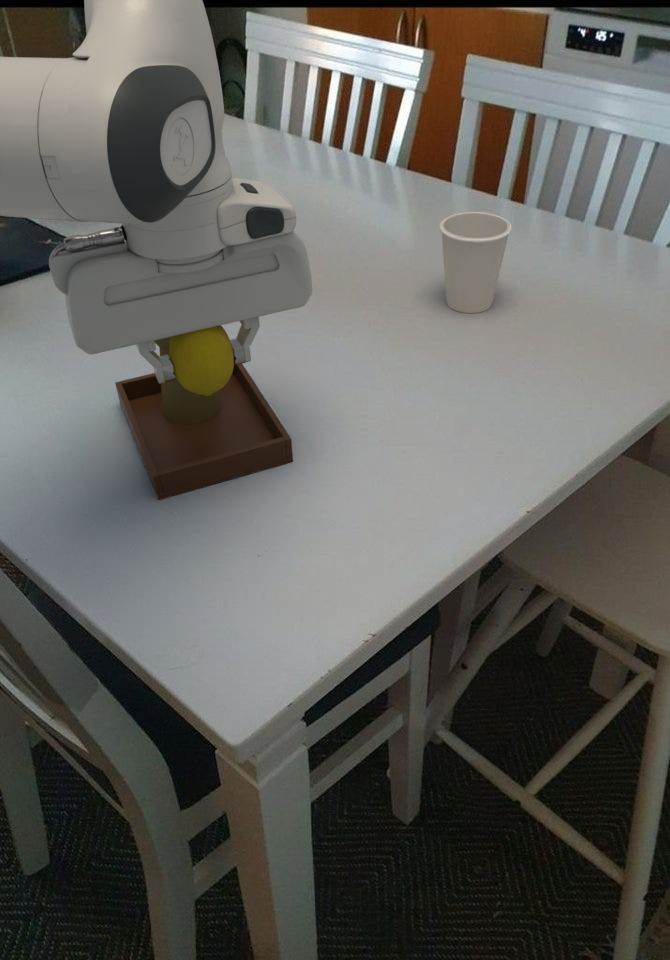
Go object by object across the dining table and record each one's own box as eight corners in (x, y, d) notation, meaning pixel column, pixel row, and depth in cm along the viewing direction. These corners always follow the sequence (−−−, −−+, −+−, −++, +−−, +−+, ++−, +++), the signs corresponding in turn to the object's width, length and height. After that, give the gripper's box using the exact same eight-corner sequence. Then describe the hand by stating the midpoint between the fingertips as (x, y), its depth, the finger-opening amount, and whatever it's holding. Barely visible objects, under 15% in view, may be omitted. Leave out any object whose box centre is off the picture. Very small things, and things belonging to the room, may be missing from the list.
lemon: (188, 377, 76) (174, 298, 71) (245, 380, 75) (235, 301, 70) (169, 410, 72) (152, 330, 66) (229, 414, 71) (217, 333, 66)
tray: (158, 500, 74) (152, 476, 72) (120, 404, 86) (114, 382, 84) (293, 461, 78) (291, 438, 76) (238, 375, 90) (235, 353, 88)
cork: (174, 388, 87) (156, 295, 80) (228, 393, 86) (214, 299, 79) (153, 421, 82) (132, 324, 75) (209, 426, 81) (193, 329, 74)
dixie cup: (454, 281, 106) (459, 206, 99) (513, 296, 102) (523, 219, 96) (423, 308, 100) (427, 230, 94) (485, 324, 97) (493, 244, 90)
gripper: (47, 257, 58) (92, 417, 66) (314, 206, 63) (323, 359, 72) (37, 226, 62) (79, 380, 71) (287, 181, 68) (298, 328, 77)
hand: (204, 369), depth 71 cm, fingers closed on lemon, 5 cm apart
